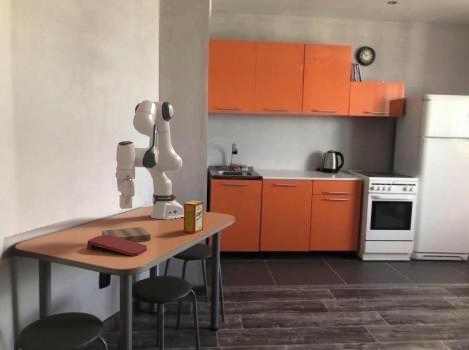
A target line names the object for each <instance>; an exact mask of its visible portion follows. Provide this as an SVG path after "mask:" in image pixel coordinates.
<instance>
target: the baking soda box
mask: <svg viewBox="0 0 469 350" xmlns="http://www.w3.org/2000/svg"><path fill="white" fill-rule="evenodd" d="M183 209H184V218H183V233H187V234H193V235H195V234H197V233H200V232H201V230H202V231H203V230H204V201H203V200H202V201H200V200H189V201H187V202H184V203H183Z"/></svg>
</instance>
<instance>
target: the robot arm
mask: <svg viewBox="0 0 469 350" xmlns="http://www.w3.org/2000/svg"><path fill="white" fill-rule="evenodd" d="M173 116H174V107H173V105H172V104H171V102H170V101H169V102H168V101H153V100H148V99H145V100H142V101H141V102H139V103H138V104H136V106H135V108H134V116H133V119H132V125H133V127H134V129H135V130H136V131H137V132H138V133H140V134H141V135H144V136H146V137H148V138H149V143H148V144H149V145H148V146H147V147H143V148H142V147H135V143H134V142H133V141H131V140H125V141H124V140H123V141H119V142H118V143H117V146H116V154H115V156H116V159H115V160H116V169H115V170H116V172H115V178H116V185H117V186H116V188H117V191H118V192H119V193H121V194H120V195H125V197H126V200H125V204H130V198H131V197H132V198H133V197H134V196H135V194H136V193H135V182H134V180H135V179H136V168H145V169H146V170H147V171H148V172H149V174H150V176H151V178H152V185H153V186H152V187H153V194H152V203H153V204H152V211H151V215H150V218H152V219H157V220H165V221H166V220H167V221H169V220H176V219H181V217H184V205H182V204H180V203H179V202H178V201H177V200H176V199H178V195H176V194H173V192H172V191H173V183H172V180H171V179H170V178H169V177H168V176H167V175H166V173H177V172H179V171H181V170H182V168H183V164H184V163H183V160H182V158H181V156H180V155H179V154H177V152H176V151H175V150H174V148H173V144H172V138H171V137H172V136H171V128H170V127H171V126H170V120H171V119H172V118H173ZM175 218H176V219H175Z"/></svg>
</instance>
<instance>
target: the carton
mask: <svg viewBox="0 0 469 350" xmlns="http://www.w3.org/2000/svg"><path fill="white" fill-rule="evenodd" d="M98 247H100V248H103V249H106V250H110V251H113V252H117V253H120V254H123V255H126V256H131V257H136V256H139V255H141V254H143V253H144V252H146V251H147V245H146V244H142V243H140V242H132V241H129V240H125V239H122V238H118V237H115V236H111V235H102V234H101V235H97V236H95V237H93V238H90V239H88V240H87V243H86V249H87V250H93V249H95V248H98Z"/></svg>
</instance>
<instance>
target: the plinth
mask: <svg viewBox="0 0 469 350" xmlns="http://www.w3.org/2000/svg"><path fill="white" fill-rule="evenodd" d="M101 235H111V236H115V237H118V238H122V239H125V240H129V241H132V242H136V243H140V242H148V241H151V237H152V236H151V233H149V232H148V231H147V230H146V229H145V228H144V227H142V226H141V227H130V228H116V229H105V230H101Z"/></svg>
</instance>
